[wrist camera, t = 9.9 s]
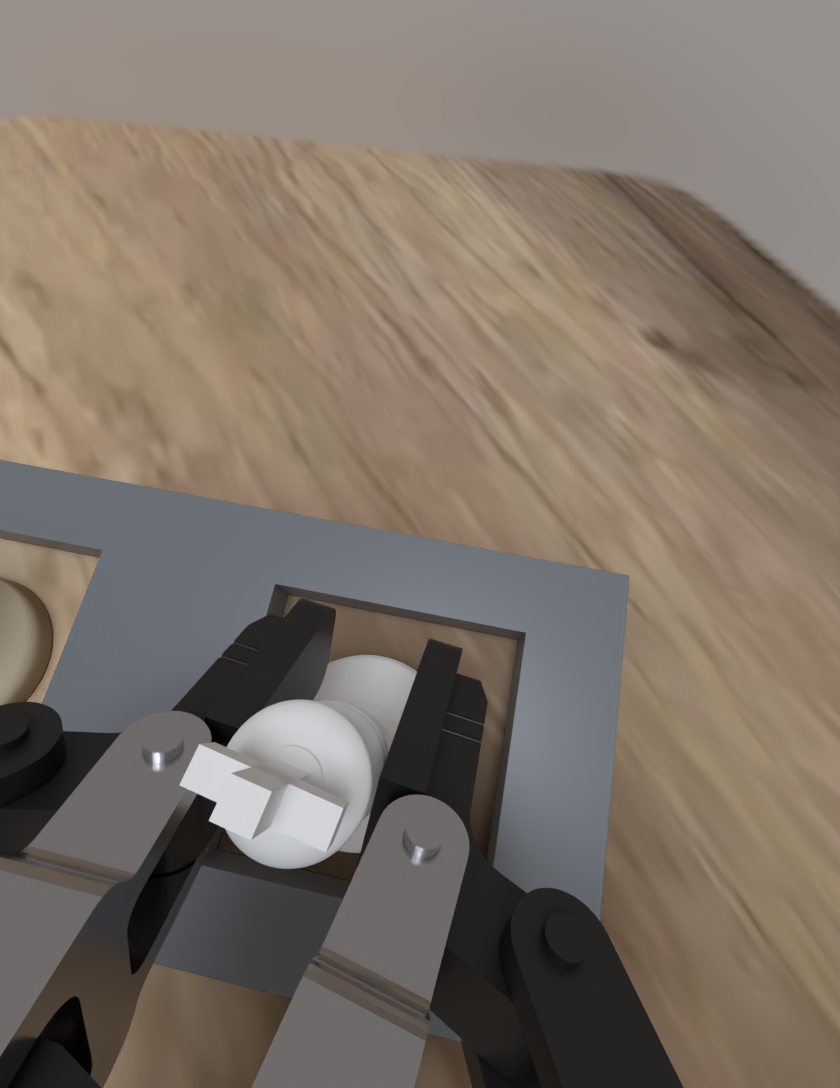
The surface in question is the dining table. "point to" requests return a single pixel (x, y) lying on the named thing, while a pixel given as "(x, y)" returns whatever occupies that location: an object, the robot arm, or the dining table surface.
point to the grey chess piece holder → (351, 580)
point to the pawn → (22, 642)
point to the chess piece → (306, 765)
